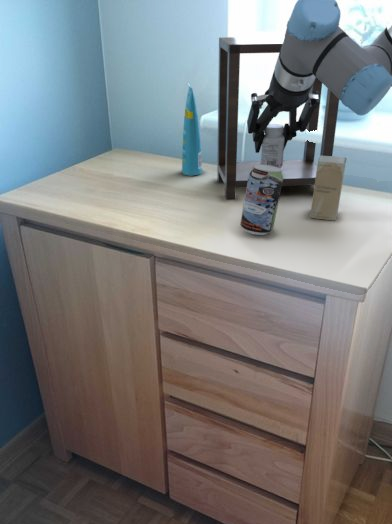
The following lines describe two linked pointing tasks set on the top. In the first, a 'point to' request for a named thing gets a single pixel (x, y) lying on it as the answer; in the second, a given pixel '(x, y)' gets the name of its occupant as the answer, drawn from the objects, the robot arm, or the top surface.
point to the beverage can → (261, 199)
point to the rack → (228, 99)
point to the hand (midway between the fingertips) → (268, 146)
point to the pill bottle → (273, 146)
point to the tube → (191, 138)
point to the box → (328, 187)
